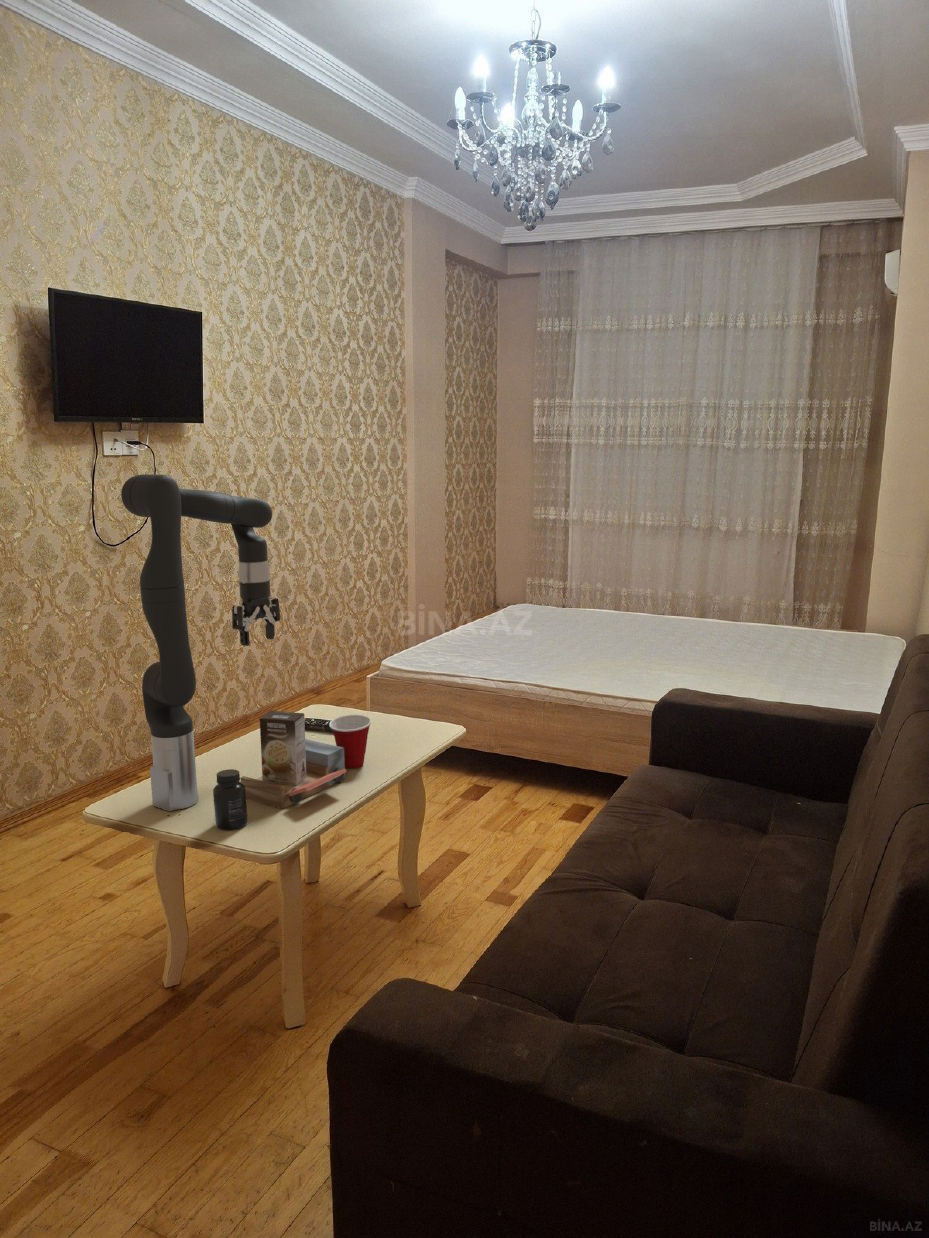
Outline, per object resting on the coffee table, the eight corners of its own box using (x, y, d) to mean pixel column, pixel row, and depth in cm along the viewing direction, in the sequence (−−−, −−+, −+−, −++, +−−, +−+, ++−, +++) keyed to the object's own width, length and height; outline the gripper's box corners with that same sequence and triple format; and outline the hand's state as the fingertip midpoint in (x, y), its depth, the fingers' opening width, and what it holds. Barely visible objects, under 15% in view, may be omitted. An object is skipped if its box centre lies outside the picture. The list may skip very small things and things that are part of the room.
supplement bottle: (250, 817, 199) (247, 766, 197) (244, 831, 192) (241, 778, 190) (219, 818, 199) (216, 767, 197) (212, 831, 192) (208, 779, 190)
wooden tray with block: (285, 809, 203) (283, 776, 202) (241, 797, 211) (239, 765, 209) (348, 779, 221) (347, 748, 220) (305, 768, 229) (304, 738, 227)
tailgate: (289, 797, 203) (307, 791, 200) (288, 792, 203) (305, 787, 200) (329, 778, 215) (346, 772, 211) (328, 774, 215) (345, 768, 211)
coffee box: (261, 783, 211) (257, 717, 208) (272, 773, 217) (269, 709, 214) (297, 786, 209) (294, 720, 206) (308, 776, 215) (305, 712, 212)
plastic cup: (321, 768, 229) (320, 723, 226) (347, 755, 238) (345, 712, 236) (356, 775, 224) (355, 729, 221) (381, 762, 233) (379, 717, 231)
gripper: (264, 574, 232) (267, 635, 235) (222, 581, 220) (226, 646, 224) (285, 576, 228) (288, 638, 231) (243, 584, 216) (247, 649, 220)
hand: (258, 642), depth 227 cm, fingers open, 8 cm apart
